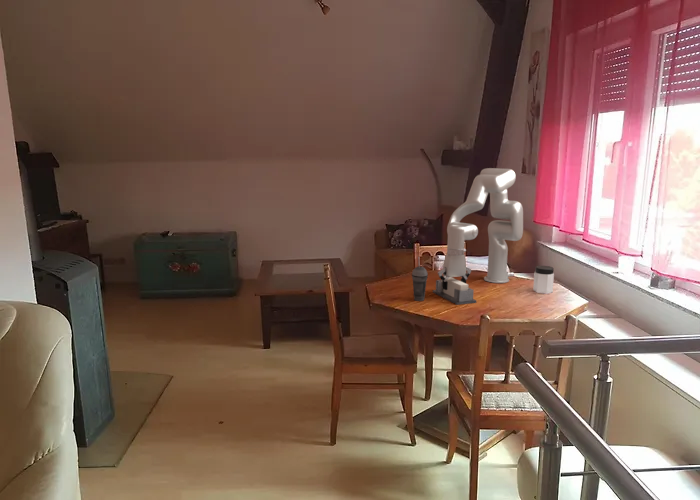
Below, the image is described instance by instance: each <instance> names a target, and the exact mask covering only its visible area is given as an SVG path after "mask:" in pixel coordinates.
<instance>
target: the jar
mask: <svg viewBox="0 0 700 500" xmlns="http://www.w3.org/2000/svg"><path fill="white" fill-rule="evenodd" d="M533 273H534V275H533V290H532V291H534V292H535V293H537V294H545V295H546V294H547V295H549V294H552V293H553V291H554V280H555V279H554V278H555V273H554V267H553V266H550V265H549V266H548V265H537V266H535V271H534V272H533Z"/></svg>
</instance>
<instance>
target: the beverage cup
mask: <svg viewBox="0 0 700 500" xmlns="http://www.w3.org/2000/svg"><path fill="white" fill-rule="evenodd" d="M417 258H418V261H417V262H418V265H417V266H416V267H415V268H413V270H412V272H411V280H412V285H413V286H412V288H413V289H412V290H413V300H414V301H416V302H424V301H425V296H426V289H427V288H426V287H427V280H428V271H427V269H426V268H425V267H424V266H421V264H420V256H418V257H417Z"/></svg>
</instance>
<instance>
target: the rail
mask: <svg viewBox="0 0 700 500" xmlns="http://www.w3.org/2000/svg"><path fill="white" fill-rule="evenodd" d="M440 280H441V279H440ZM441 282H442V280H441ZM447 282H448V286H447V290H445V289H443V287H442V292H444V293H446V294H448V295H450V296H452V297H454V289H458V290H468V288H469V284H468V283H467V282H466V283H464V282H461V280H459V279H456V278H455V277H449V278H448V280H447Z"/></svg>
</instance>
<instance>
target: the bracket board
mask: <svg viewBox="0 0 700 500" xmlns="http://www.w3.org/2000/svg"><path fill="white" fill-rule="evenodd" d="M474 292H475V291H474V289H472V288H471V287H468V290H458V289H454V297H452V296H450V295H448V294H446V293H444V292H442V282H441V279H437V280H435V289H432V293H433V294H435V295H436V296H438V297H441V298H443V299H444V300H446V301H448V302H451V303H453V304H454V303H455V305H459V306H460V305H468V304H476V303H477V299H474Z"/></svg>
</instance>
